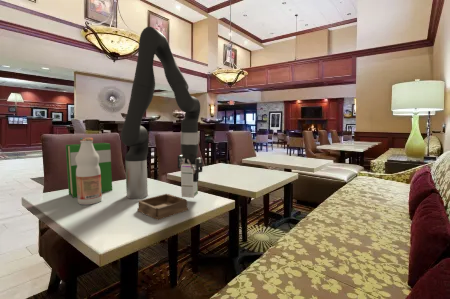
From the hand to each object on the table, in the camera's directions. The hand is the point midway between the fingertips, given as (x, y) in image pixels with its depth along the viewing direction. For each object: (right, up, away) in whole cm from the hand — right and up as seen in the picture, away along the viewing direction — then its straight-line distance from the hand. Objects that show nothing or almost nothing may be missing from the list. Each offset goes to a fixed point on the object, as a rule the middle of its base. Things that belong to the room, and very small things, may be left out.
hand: (189, 180), depth 110 cm
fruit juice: (-44, -10, 0) cm, 45 cm away
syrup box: (0, -7, +1) cm, 7 cm away
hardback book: (-51, -8, +14) cm, 53 cm away
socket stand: (-9, -11, -11) cm, 18 cm away
